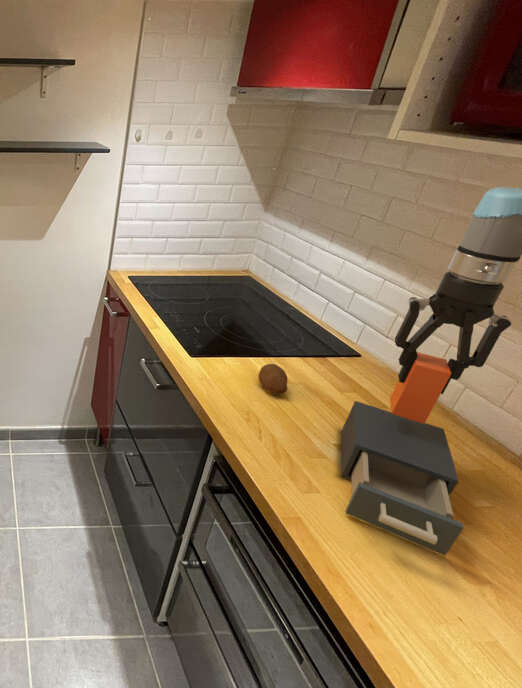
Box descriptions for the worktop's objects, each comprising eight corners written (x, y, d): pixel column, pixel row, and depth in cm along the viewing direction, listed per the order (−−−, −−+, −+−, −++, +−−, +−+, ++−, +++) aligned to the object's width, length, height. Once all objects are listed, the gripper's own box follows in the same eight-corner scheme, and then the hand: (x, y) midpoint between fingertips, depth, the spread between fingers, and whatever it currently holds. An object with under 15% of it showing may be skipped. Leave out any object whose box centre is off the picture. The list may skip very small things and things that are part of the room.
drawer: (449, 576, 72) (469, 548, 69) (345, 530, 79) (359, 502, 76) (432, 494, 86) (448, 468, 84) (345, 461, 94) (357, 436, 91)
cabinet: (437, 515, 83) (459, 481, 80) (340, 476, 91) (356, 444, 87) (425, 460, 96) (444, 428, 92) (341, 430, 103) (354, 400, 100)
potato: (261, 396, 115) (268, 376, 112) (250, 375, 123) (256, 356, 121) (290, 401, 113) (297, 380, 111) (277, 378, 122) (283, 359, 119)
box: (420, 408, 92) (446, 359, 87) (424, 424, 88) (451, 373, 83) (389, 398, 95) (412, 350, 90) (391, 413, 90) (416, 364, 85)
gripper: (410, 271, 81) (363, 376, 90) (558, 298, 71) (487, 413, 81) (406, 259, 86) (362, 360, 96) (542, 283, 77) (478, 392, 86)
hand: (419, 384), depth 88 cm, fingers closed on box, 5 cm apart
